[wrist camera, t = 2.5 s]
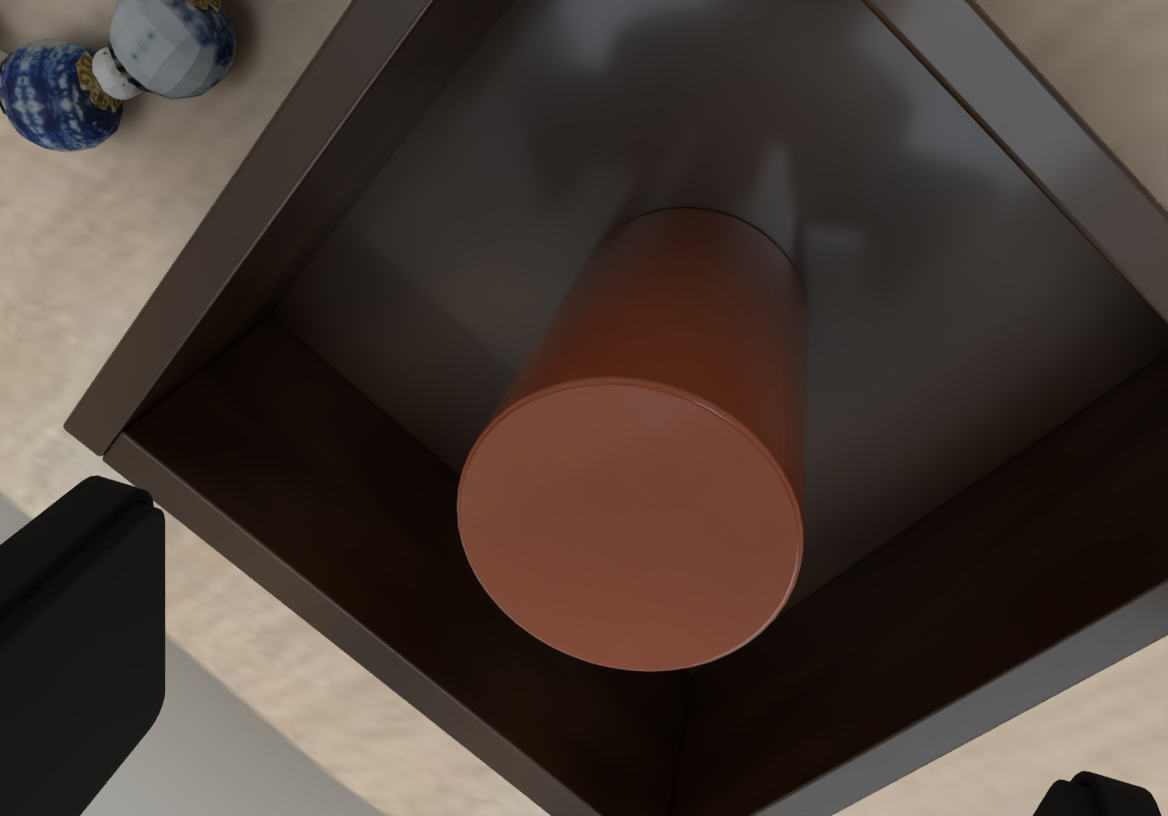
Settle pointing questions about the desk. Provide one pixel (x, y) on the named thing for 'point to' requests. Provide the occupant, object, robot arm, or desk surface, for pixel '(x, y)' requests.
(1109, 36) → the desk surface
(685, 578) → the orange cylinder
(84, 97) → the bracelet
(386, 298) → the brown open box
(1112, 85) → the desk surface
